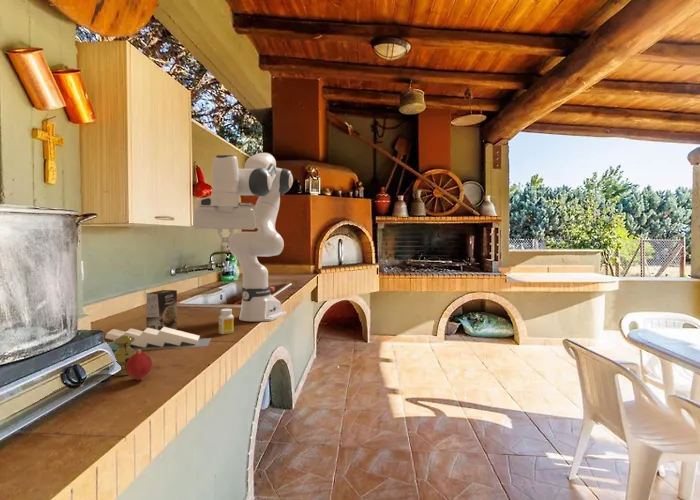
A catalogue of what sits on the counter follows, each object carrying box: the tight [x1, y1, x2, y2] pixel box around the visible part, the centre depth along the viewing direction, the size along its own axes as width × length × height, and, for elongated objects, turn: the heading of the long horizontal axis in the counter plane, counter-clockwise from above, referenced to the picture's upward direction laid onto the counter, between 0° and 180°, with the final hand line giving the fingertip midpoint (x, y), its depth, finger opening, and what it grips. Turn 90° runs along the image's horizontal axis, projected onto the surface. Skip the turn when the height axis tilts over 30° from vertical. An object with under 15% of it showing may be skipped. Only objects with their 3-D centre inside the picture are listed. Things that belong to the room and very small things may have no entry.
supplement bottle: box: [218, 308, 235, 335], centre depth 133 cm, size 5×5×10 cm
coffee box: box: [145, 289, 178, 330], centre depth 133 cm, size 9×6×16 cm
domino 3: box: [124, 327, 166, 347], centre depth 116 cm, size 2×5×12 cm
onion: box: [126, 350, 153, 381], centre depth 92 cm, size 6×6×8 cm
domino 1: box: [104, 328, 149, 348], centre depth 115 cm, size 2×5×12 cm
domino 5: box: [158, 327, 201, 345], centre depth 119 cm, size 2×5×12 cm
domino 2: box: [107, 341, 133, 351], centre depth 114 cm, size 2×5×12 cm
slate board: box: [131, 337, 212, 351], centre depth 118 cm, size 25×9×1 cm, turn 105°
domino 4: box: [141, 328, 182, 346], centre depth 118 cm, size 2×5×12 cm
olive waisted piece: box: [112, 335, 136, 377], centre depth 97 cm, size 7×7×10 cm
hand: (225, 242), depth 122 cm, fingers closed
